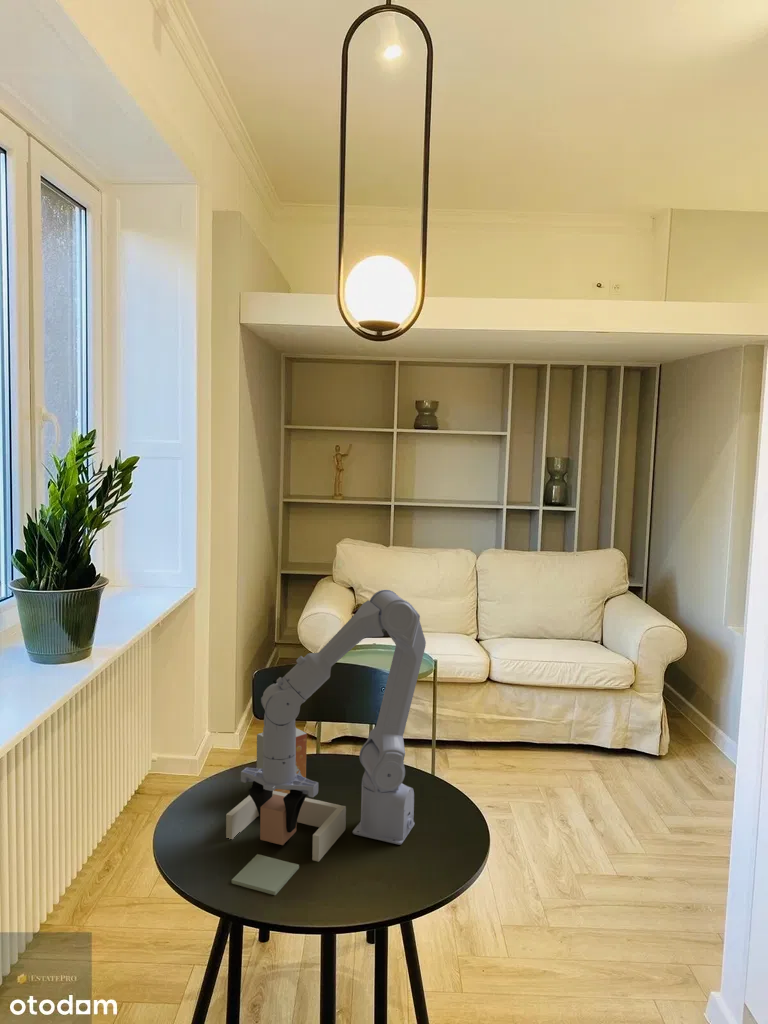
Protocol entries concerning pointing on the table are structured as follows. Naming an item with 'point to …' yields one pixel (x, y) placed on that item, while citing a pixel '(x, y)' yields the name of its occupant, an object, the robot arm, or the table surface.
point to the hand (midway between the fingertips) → (278, 826)
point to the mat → (265, 874)
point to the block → (274, 821)
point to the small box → (300, 754)
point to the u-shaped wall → (311, 813)
